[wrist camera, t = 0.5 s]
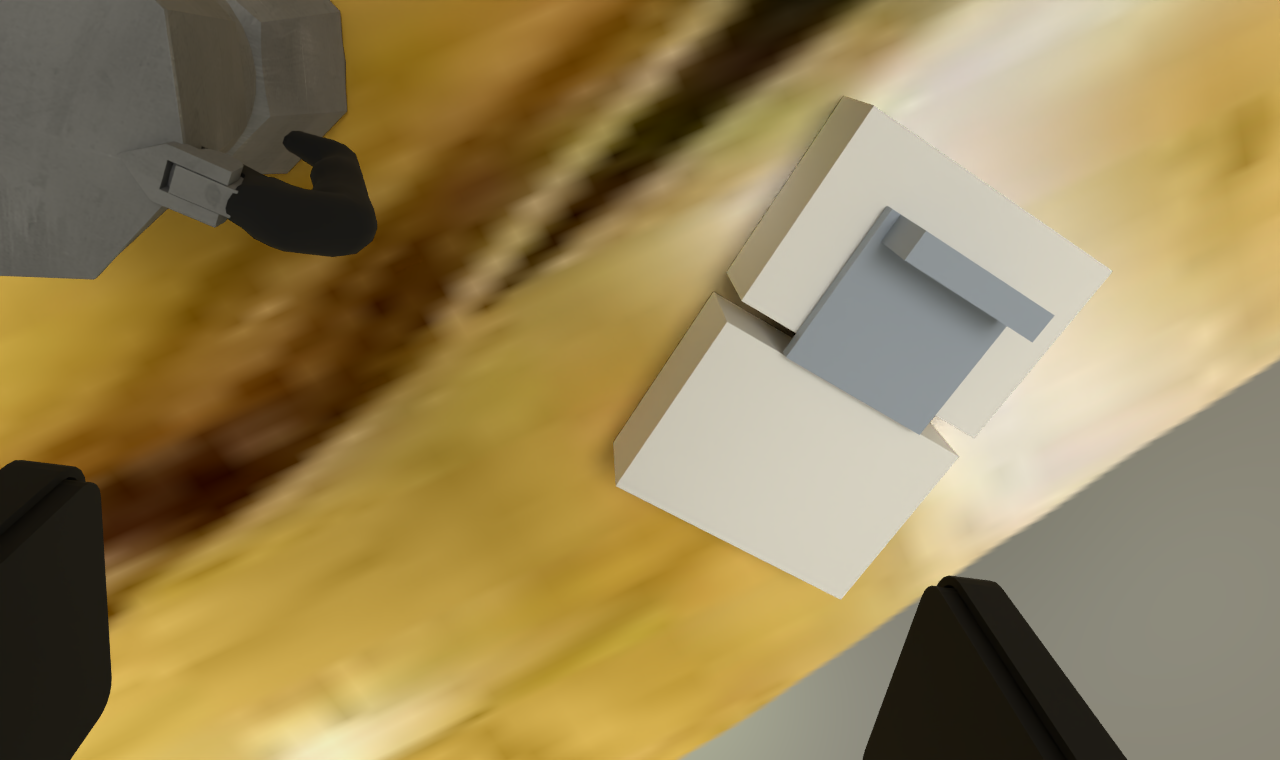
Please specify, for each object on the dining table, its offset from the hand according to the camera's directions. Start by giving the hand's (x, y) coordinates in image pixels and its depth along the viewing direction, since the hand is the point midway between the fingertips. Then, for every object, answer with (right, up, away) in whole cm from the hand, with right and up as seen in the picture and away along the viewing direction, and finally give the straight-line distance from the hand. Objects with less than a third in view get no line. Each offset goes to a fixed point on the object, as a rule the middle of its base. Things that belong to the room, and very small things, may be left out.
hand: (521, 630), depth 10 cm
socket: (+10, +4, +29) cm, 31 cm away
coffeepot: (-13, +15, +23) cm, 31 cm away
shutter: (+12, +5, +24) cm, 27 cm away
